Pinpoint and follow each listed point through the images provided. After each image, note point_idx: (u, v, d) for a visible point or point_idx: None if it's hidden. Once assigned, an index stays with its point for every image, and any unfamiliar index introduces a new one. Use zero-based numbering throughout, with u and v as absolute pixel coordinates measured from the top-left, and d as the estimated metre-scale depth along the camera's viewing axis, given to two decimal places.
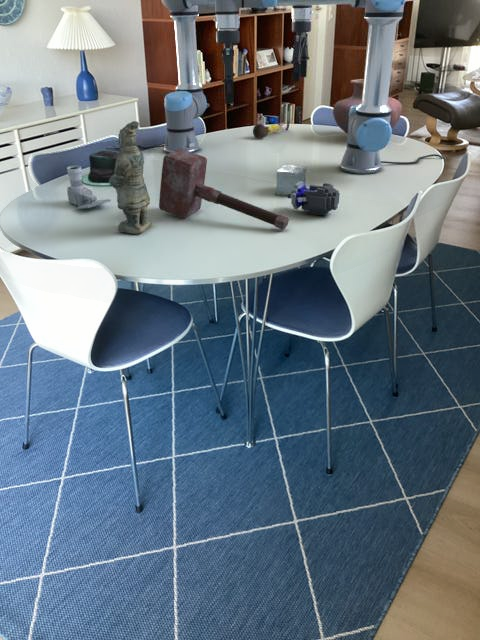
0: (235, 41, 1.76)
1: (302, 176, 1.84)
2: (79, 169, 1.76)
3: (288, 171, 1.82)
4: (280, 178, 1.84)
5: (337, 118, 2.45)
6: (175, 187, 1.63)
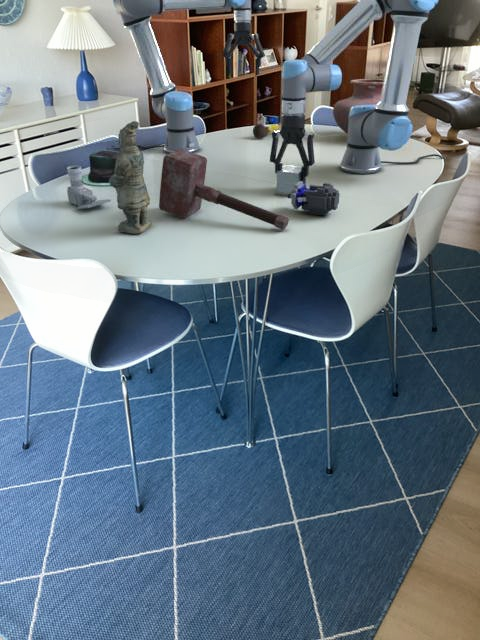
0: None
1: None
2: (79, 169, 1.76)
3: (288, 171, 1.82)
4: (280, 178, 1.84)
5: (337, 118, 2.45)
6: (175, 187, 1.63)
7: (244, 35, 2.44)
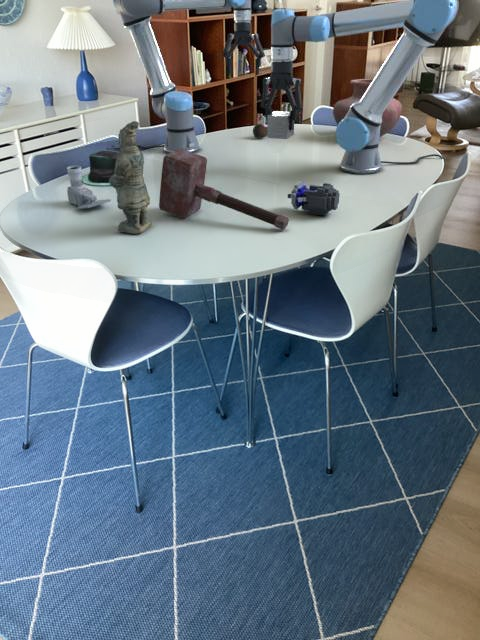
0: None
1: None
2: (79, 169, 1.76)
3: (278, 115, 1.99)
4: (271, 122, 2.00)
5: (337, 118, 2.45)
6: (175, 187, 1.63)
7: (244, 35, 2.44)
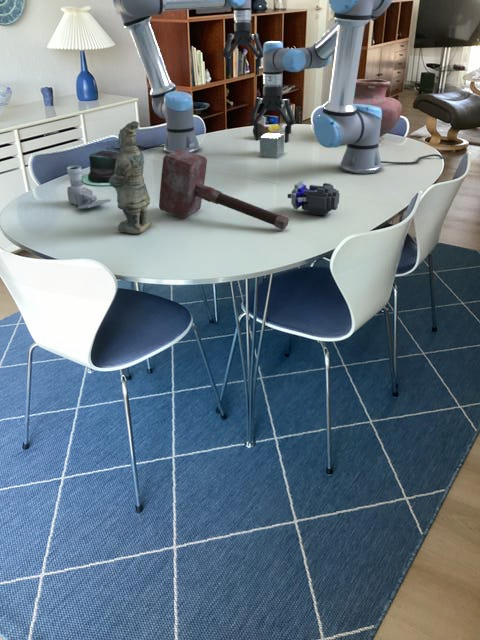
0: None
1: (280, 141, 2.28)
2: (79, 169, 1.76)
3: (269, 137, 2.26)
4: (263, 143, 2.28)
5: None
6: (175, 187, 1.63)
7: (244, 35, 2.44)
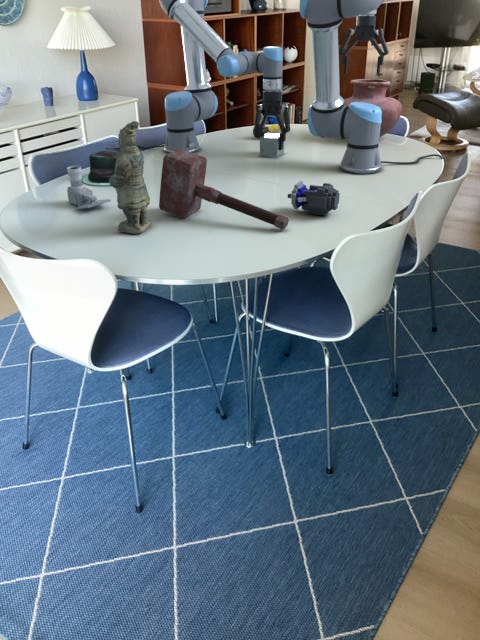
0: None
1: None
2: (79, 169, 1.76)
3: (269, 137, 2.26)
4: (263, 143, 2.28)
5: None
6: (175, 187, 1.63)
7: (275, 105, 2.21)
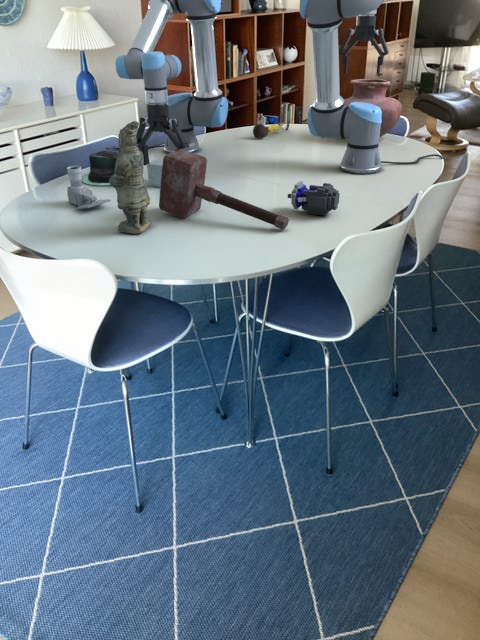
0: None
1: None
2: (79, 169, 1.76)
3: (157, 164, 1.94)
4: (151, 170, 1.95)
5: None
6: (175, 187, 1.63)
7: (160, 120, 1.88)
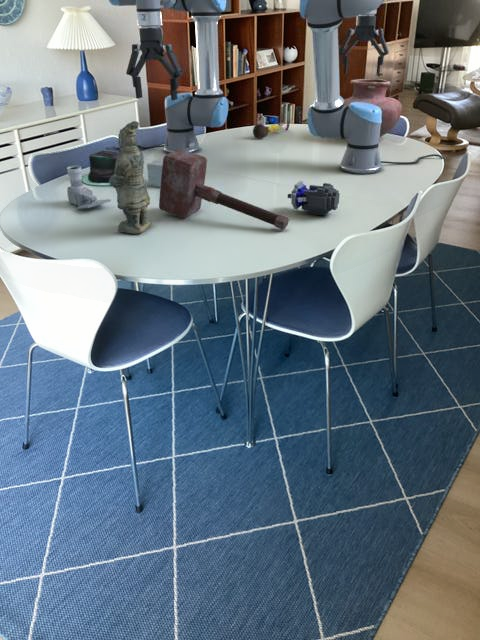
0: None
1: None
2: (79, 169, 1.76)
3: (157, 164, 1.94)
4: (151, 170, 1.95)
5: None
6: (175, 187, 1.63)
7: (153, 46, 1.76)
